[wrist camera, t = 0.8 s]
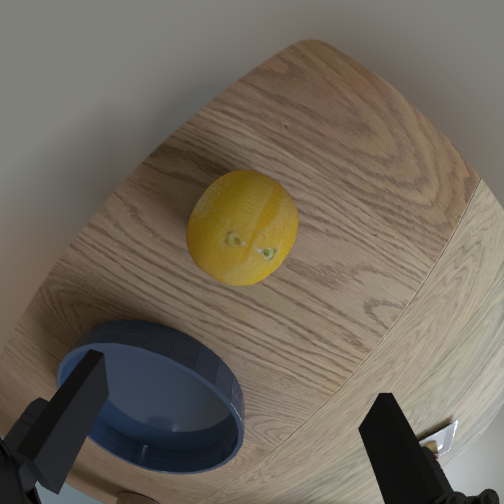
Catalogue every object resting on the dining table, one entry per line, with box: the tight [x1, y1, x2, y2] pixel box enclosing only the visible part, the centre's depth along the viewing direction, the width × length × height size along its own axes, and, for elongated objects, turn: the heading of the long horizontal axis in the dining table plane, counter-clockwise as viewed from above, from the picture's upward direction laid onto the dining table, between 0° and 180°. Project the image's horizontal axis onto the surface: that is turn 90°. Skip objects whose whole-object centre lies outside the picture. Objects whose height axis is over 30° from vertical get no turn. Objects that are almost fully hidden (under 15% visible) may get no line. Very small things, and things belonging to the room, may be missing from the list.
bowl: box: [56, 320, 245, 474], centre depth 29 cm, size 23×23×5 cm
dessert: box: [419, 421, 458, 462], centre depth 35 cm, size 12×12×5 cm
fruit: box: [186, 170, 299, 286], centre depth 22 cm, size 9×8×8 cm
